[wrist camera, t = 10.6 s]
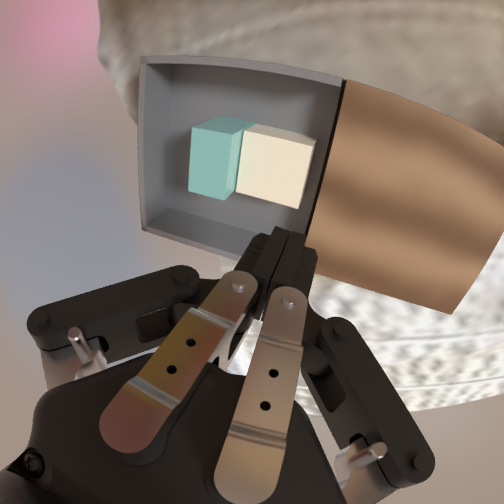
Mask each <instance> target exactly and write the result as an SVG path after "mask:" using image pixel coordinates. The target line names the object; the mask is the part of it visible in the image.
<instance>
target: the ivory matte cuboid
mask: <svg viewBox="0 0 504 504" xmlns="http://www.w3.org/2000/svg"><path fill="white" fill-rule="evenodd" d="M316 142H317V138H315V137H311V136H307V135H303V134H299V133H295V132H291V131H287V130H283V129H278V128H274V127H269V126H265V125H260V124H255V125H253V126H251V127H249V128H248V129H246V130H244V133H243V140H242V148H241V155H240V163H239V170H238V178H237V186H236V192H238V193H242V194H246V195H250V196H253V197H257V198H261V199H264V200H268V201H272V202H275V203H279V204H282V205H286V206H289V207H293V208H296V209H298V208H299V205H300V203H301V200H302V198H303V195H304V192H305V188H306V184H307V180H308V176H309V172H310V167H311V163H312V159H313V155H314V150H315V146H316Z"/></svg>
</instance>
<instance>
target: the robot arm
mask: <svg viewBox="0 0 504 504" xmlns="http://www.w3.org/2000/svg"><path fill="white" fill-rule="evenodd" d="M290 233H291V234H290ZM306 238H307V235H305V234H302V233H298V232H295V231H292V232H291V230H289V229H285V228H282V227H279V226H275V227H274V229H273V231H272V233H271V235H267V234H264V233H260V234H258V235H256V236H254V237H253V238H252V240H251V242H250V243H249V246H248V247H247V248H246V250H245V252H244V253H243V255H242V257H241V258H240V260H239V262H238V263H237V265H236V267H235V268H234V270H233V271H230V272H228V273H226V274H224V275H223V276H222V278H221V279H217V280H216V279H215V280H212V279H200V278H199V274H198V272H197V271H196V270H195V269H193V268H192V267H189V266H185V265H177V266H173V267H169V268H166V269H163V270H160V271H156V272H153V273H149V274H146V275H143V276H139V277H136V278H133V279H129V280H126V281H123V282H119V283H116V284H113V285H109V286H106V287H103V288H99V289H96V290H93V291H90V292H86V293H83V294H80V295H77V296H74V297H70V298H67V299H64V300H60V301H57V302H54V303H50V304H47V305H44V306H41V307H38V308H36V309H35V310H34V311H33V312H32V313H31V314H30V315H29V317H28V320H27V329H28V331H29V333H30V334H31V336H32V337H33V339H34V340H35V342H36V345H37V346H38V348H39V349H40V351H41V357H42V363H43V369H44V374H45V379H46V383H47V388H48V391H47V392H46V393H45V394H44V395H43V396H42V397H41V398H40V400H39V401H38V403H37V405H36V407H35V410H34V415H33V426H32V432H31V436H30V440H29V443H28V446H27V448H26V449H25V451H24V452H23V453H22V454H21V455H20V456H19V457H18V458H17V459H16V460H15V461H13V462H12V463H11V464H10V465H8V466H7V467H5V468H4V469H3V470H1V472H0V504H376V503H377V502H379V501H380V500H382V499H384V498H385V497H387V496H388V495H390V494H391V493H393V492H394V491H396V490H399V489H402V488H405V487H409V486H412V485H415V484H418V483H421V482H423V481H425V480H427V478H429V477H430V476H431V474H432V472H433V470H434V467H435V457H434V454H433V452H432V450H431V449H430V447H429V445H428V443H427V442H426V440H425V438H424V436H423V435H422V433H421V431H420V430H419V428H418V426H417V424H416V423H415V421H414V420H413V418H412V416H411V414H410V413H409V411H408V409H407V408H406V406H405V404H404V403H403V401H402V400H401V398H400V396H399V395H398V393H397V391H396V390H395V388H394V387H393V385H392V383H391V382H390V380H389V379H388V377H387V375H386V374H385V372H384V371H383V369H382V368H381V366H380V364H379V363H378V361H377V360H376V358H375V357H374V355H373V354H372V352H371V350H370V349H369V347H368V346H367V344H366V343H365V341H364V340H363V338H362V337H361V335H360V334H359V332H358V331H357V329H356V328H355V326H354V325H353V324H352V323H351V322H350V321H348V320H346V319H344V318H341V317H331V318H328V319H327V320H326V319H324V318H323V317H321V316H319V315H318V314H317V313H316V312H314V310H313V309H312V308H311V306H310V304H309V301H308V296H309V292H310V288H311V285H312V281H313V277H314V272H315V268H316V264H317V260H318V256H317V253H316V250H315V249H312V248H309V247H306V246H304V245H305V241H306ZM163 308H164V309H163ZM160 309H161V310H160ZM157 310H158V311H157ZM263 310H264V311H263ZM154 311H155V312H154ZM151 312H152V313H151ZM148 313H149V314H148ZM262 313H263V314H262ZM145 314H146V315H145ZM142 315H143V316H142ZM261 315H262V318H261V321H263V324H262V327H261V331H260V334H259V337H258V340H257V343H256V346H255V350H254V353H253V356H252V359H251V363H250V366H249V369H248V372H247V376H243V375H235V374H229V373H227V372H226V371H227V369H228V366H229V364H230V363H231V361H232V359H233V357H234V356H235V354H236V352H237V350H238V349H239V347H240V345H241V343H242V342H243V340H244V338H245V336H246V334H247V332H248V329H249V328H250V326H251V324H252V321H253V319H257V320H260V317H261ZM158 346H159V348H158V349H157V350H156V352H154V353H148V354H145V355H142V356H139V357H137V358H134V359H131V360H129V361H126V362H124V363H121V364H118V365H116V366H113V367H110V368H108V369H105V368H106V365H107V364H109V363H112V362H115V361H118V360H121V359H124V358H127V357H130V356H133V355H135V354H138V353H141V352H144V351H147V350H150V349H152V348H155V347H158ZM300 367H301V374H302V376H303V378H304V380H305V382H306V384H307V386H308V388H309V390H310V392H311V394H312V396H313V398H314V400H315V402H316V404H317V406H318V408H319V410H320V412H321V413H322V415H323V417H324V419H325V421H326V423H327V425H328V427H329V429H330V431H331V433H332V435H333V437H334V439H335V440H336V443H337V445H338V446H339V448H340V451H339V452H338V454H337V455H336V457H335V461H334V467H335V470H336V474H337V479H336V477H335V475H334V473H333V471H332V468H331V466H330V464H329V462H328V460H327V458H326V455H325V453H324V451H323V449H322V446H321V444H320V442H319V440H318V437H317V435H316V433H315V430H314V428H313V426H312V424H311V421H310V419H309V417H308V415H307V414H306V412H305V411H304V409H303V408H302V407H301V406H300V405H299V404H298V403H297V402H296V401H295V400H294V397H295V392H296V387H297V382H298V377H299V371H300Z"/></svg>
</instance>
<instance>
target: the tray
mask: <svg viewBox="0 0 504 504" xmlns="http://www.w3.org/2000/svg"><path fill="white" fill-rule="evenodd" d="M342 82H343V78H340V77H336V76H332V75H328V74H324V73H320V72H315V71H311V70H306V69H301V68H296V67H290V66H285V65H279V64H273V63H266V62H259V61H251V60H242V59H233V58H221V57H205V56H141V60H140V75H139V94H138V176H139V197H140V212H141V224H142V230H144V231H147V232H150V233H153V234H156V235H159V236H162V237H165V238H168V239H171V240H174V241H177V242H180V243H184V244H187V245H190V246H193V247H196V248H199V249H202V250H205V251H208V252H212V253H215V254H218V255H221V256H224V257H227V258H230V259H234V260H237V261H239V260H240V258H241V257H242V255H243V253H244V252H245V250H246V248H247V247H248V246H249V243H250V242H251V240H252V238H253V237H254V236H256V235H258V234H260V233H264V234H267V235H271V233H272V231H273V229H274V227H275V226H279V227H282V228H285V229H289V230H291V232H292V231H295V232H298V233H302V234H305V231H306V228H307V224H308V221H309V217H310V213H311V210H312V206H313V202H314V198H315V195H316V191H317V187H318V183H319V180H320V176H321V172H322V168H323V164H324V160H325V156H326V152H327V148H328V144H329V140H330V135H331V131H332V127H333V123H334V118H335V114H336V110H337V105H338V101H339V96H340V92H341V87H342ZM220 116H224V117H230V118H235V119H241V120H246V121H251V122H255V124H260V125H265V126H269V127H274V128H278V129H283V130H287V131H291V132H295V133H299V134H303V135H307V136H311V137H315V138H317V142H316V146H315V150H314V155H313V159H312V163H311V167H310V172H309V176H308V180H307V184H306V188H305V192H304V195H303V198H302V200H301V203H300V205H299V208H298V209H296V208H293V207H289V206H286V205H282V204H279V203H275V202H272V201H268V200H264V199H261V198H257V197H253V196H250V195H246V194H242V193H238V192H236V189H235V190H234V191H233V192H232V193H231V194H230V195H229V197H228V198H227V199H226V200H225V201H224V200H220V199H216V198H213V197H209V196H205V195H201V194H198V193H194V192H190V191H188V184H189V164H190V148H191V134H192V127H194V126H197V125H199V124H202V123H204V122H207V121H209V120H212V119H214V118H217V117H220ZM290 234H291V233H290Z"/></svg>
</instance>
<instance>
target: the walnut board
mask: <svg viewBox="0 0 504 504" xmlns="http://www.w3.org/2000/svg"><path fill="white" fill-rule="evenodd" d="M503 232H504V146H502V145H500V144H499V143H497V142H495V141H494V140H492V139H490V138H489V137H487V136H485V135H483V134H481V133H480V132H478V131H476V130H474V129H472V128H470V127H468V126H466V125H464V124H462V123H460V122H458V121H456V120H454V119H452V118H450V117H448V116H446V115H444V114H442V113H439V112H437V111H435V110H433V109H430V108H428V107H426V106H423V105H421V104H418V103H416V102H413V101H411V100H408V99H406V98H403V97H400V96H398V95H395V94H392V93H389V92H386V91H383V90H380V89H377V88H374V87H371V86H368V85H365V84H361V83H358V82H354V81H351V80H347V82H346V87H345V91H344V96H343V100H342V105H341V109H340V114H339V118H338V122H337V126H336V130H335V135H334V139H333V143H332V147H331V151H330V155H329V159H328V163H327V167H326V170H325V174H324V178H323V182H322V186H321V189H320V193H319V197H318V200H317V204H316V208H315V211H314V215H313V218H312V222H311V225H310V229H309V232H308V236H307V239H306V243H305V246H306V247H309V248H312V249H315V250H316V253H317V256H318V260H317V264H316V268H315V272H314V273H316V274H319V275H323V276H326V277H329V278H332V279H336V280H339V281H342V282H345V283H349V284H352V285H355V286H358V287H362V288H365V289H368V290H371V291H375V292H378V293H381V294H385V295H388V296H391V297H394V298H398V299H401V300H404V301H407V302H411V303H414V304H417V305H421V306H424V307H427V308H430V309H434V310H437V311H440V312H444V313H447V314H450V315H451V314H452V313H453V311H454V310H455V309H456V307H457V306H458V305H459V303H460V302H461V300H462V299H463V297H464V296H465V295H466V293H467V292H468V290H469V289H470V287H471V286H472V284H473V283H474V281H475V280H476V278H477V277H478V275H479V273H480V272H481V270H482V269H483V267H484V265H485V264H486V262H487V260H488V259H489V257H490V255H491V253H492V252H493V250H494V248H495V246H496V245H497V243H498V241H499V239H500V237H501V235H502V233H503Z"/></svg>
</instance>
